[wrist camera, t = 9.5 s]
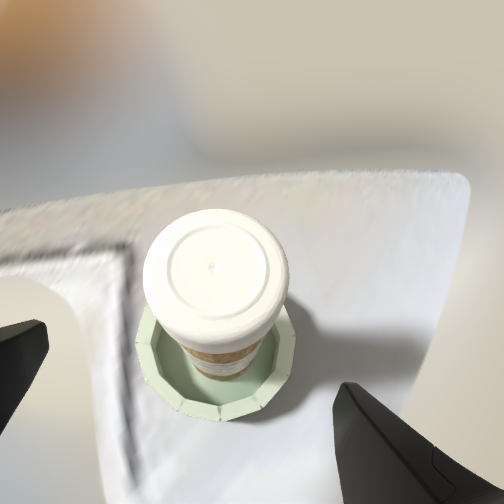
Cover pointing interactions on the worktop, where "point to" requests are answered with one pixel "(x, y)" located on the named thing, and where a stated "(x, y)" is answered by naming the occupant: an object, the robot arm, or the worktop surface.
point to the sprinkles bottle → (217, 288)
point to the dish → (204, 389)
